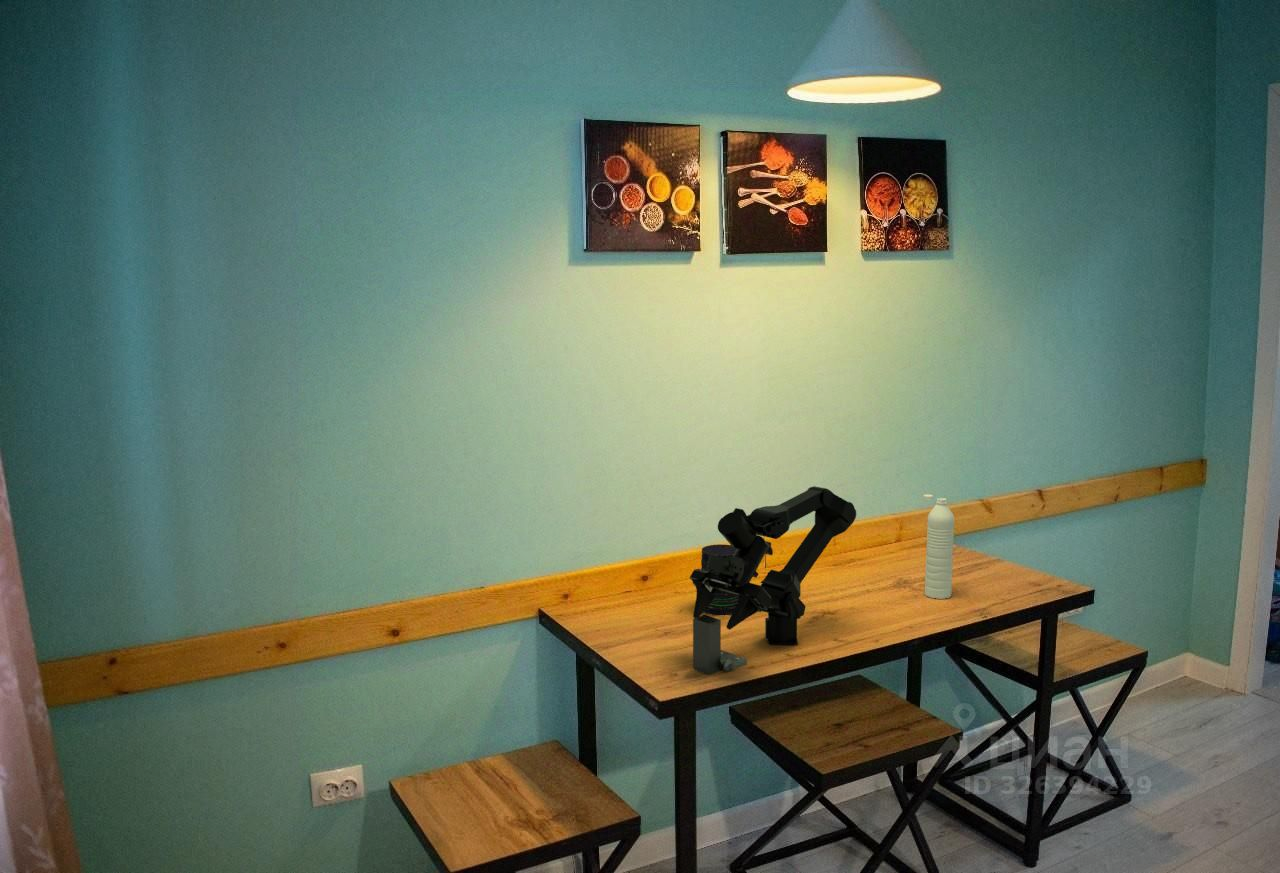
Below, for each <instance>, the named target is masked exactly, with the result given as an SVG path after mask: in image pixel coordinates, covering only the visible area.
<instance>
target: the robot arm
mask: <svg viewBox="0 0 1280 873" xmlns="http://www.w3.org/2000/svg"><path fill="white" fill-rule="evenodd" d="M813 512H814V525H813V526H812V528H811V529H810V531H809V532H808V533H807V535H806V536H805V537H804V539H803V540H802V542H801V543H800V544H799V545H798V546H797V549H796V550H795V552H794V553H793V554H792V556H791V558H789V559H788V560H787V563H786V564H785V566H784V567H783V568H782V569H781V570H779V571H778V570H774V569H771V570H769V571H767V574H766V576H765V577H764V578H763V580H761V581H760V585H759V584H757V583H753V582H751V581H752V579H753V578H756V579H757V578H758V576H759V573H758V571H757V570H758V568H759V566H760V564H761V563H762V561H763V559H764V557H765V555H768V556H773V554H774V550H773V548H772V543H771V542H770V541H768V540H767V541H766V540H765V538H770V539H773V540H774V539H775V540H777V539H780V538H781V537H782V536H784V535H785V534H786V533H787V532H788V531H789V530H790V527H791V524H793V523H794V522H796V521H798V520H800V519H801V518H804V517H805V516H807V515H809V514H811V513H813ZM856 517H857V510H856V508H855V505H854V504H853V503H852V502H851V501H847V500H846V499H844V498H842V497H840V496H838V495H837V494H835V493H834V492H832V491H831V490H830V489H828V488H825V487H821V486H816V485H814V486H809V488H807V490H805V491H803V492H801V493H799V494H798V495H796V496H794V497H791V498H790V499H787V500H786V501H783V502H782V503H780V504H776V505H765V506H761V507H757V508H755V509H753V510H752V511H751V512H750V514H748V515H747V514H746V512H745V511H744V509H742V508H737V507H735V508H734V509H733V511H731V512H729V513H726V514H725V515H724V516H722V518H720V519H719V521H718V523H717V530H718V532H719V533H720V534H721V535H722V537H723V538H724V539H725V541H726V542H728V544H729V545H731V546H732V547H733V548H736V549H737V550H736V552H735V553H734V555H733V556H730V555H729V556H727V558H726V559H725V558H722V557H718V556H714V555H710V557H709V561H708V564H707V568H706V569H707V570H713V571H716V573H715V574H716V575H717V577H720V580H717V579H716V578H715V577H714V576H713V575H712V574H711V573H710V572H709V571H705V570H701V568H696V569H694V570H693V571H692V573H691V574H690V576H689V579H690V580H691V581H692V585H693V586H694V587H695V590H696V594H695V595H696V597H695V598H696V599H695V602H694V603H695V604H694V610H693V615H692V616H693V619H694V618H697V617H699V616H702V614H703V613H705V612H704V611H705V609H706V608H707V607H708V606H709V604H710V603H711V602H712V601H713V599H714V598H715V596H714V595H713V594H715V593H717V591H718V590H722V591H726V592H729V593H733V594H736V595H739V596H738V604H737V606H736V608H735V610H734V611H733V613H732V615H730V617H729V620H728V621H727V623H726V627H725V628H726V629H727V630H729V631H730V630H732V629H733V628H735V627H736V626H738V625H739V624H740V623H742V622H743V621H745V620H746V619H748V618H749V617H751V616H754V614H756V613H761V612H762V613H764V612H765V613H767V617H765V619H764V624H765V625H764V637H765V639H766V640H767V644H769V645H784V646H785V645H786V646H787V645H788V646H789V645H790V646H791V645H792V646H793V645H794V646H796V645H799V641H798V620H801V619H802V618H801V617H803V616H805V612H806V605H805V604H804V603H803V601H802V600H801V599H800V597H801V584H802V581H803V580H804V579H805V578H806V576H807V575H808V574H809V572H810V570H811V569H812V568H813V566H814V565H815V563H816V562H817V560H818V559H819V558H820V556H821V555H822V554H823V552H824V550H826V547H828V544H829V543H830V542H831V541H832V539H833V538H834V537H836V536H839V535H840V534H843V533H845V532H846V531H847V530H848V529H849V528H850V527H851V526H852V525H853V523H854V522H855V520H856ZM764 537H765V538H764ZM725 586H726V587H725Z"/></svg>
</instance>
